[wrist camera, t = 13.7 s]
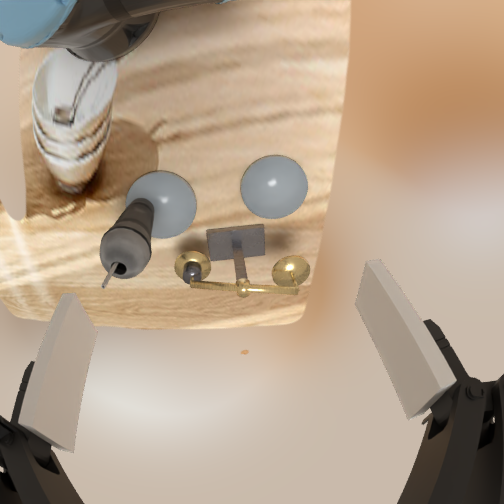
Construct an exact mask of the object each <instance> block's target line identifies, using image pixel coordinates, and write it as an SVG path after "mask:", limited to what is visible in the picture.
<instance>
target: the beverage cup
mask: <svg viewBox="0 0 504 504" xmlns="http://www.w3.org/2000/svg"><path fill="white" fill-rule="evenodd" d="M154 212H155V210H154V206H153V204H152V203H151V202H150V201H149V200H147V199H145V198H137V199H134V200H133V201H132V202H131V203H130V204H129V205H128V207H127V208H126V209H125V211H124V212H123V213H122V215H121V216H120V217H119V219H118V220H117V221H116V223H115V224H114V226H113V227H111V228H110V229H109V230H108V231H107V232H106V233H105V234H104V236H103V238H102V240H101V245H100V259H101V262H102V265H103V266H104V268H105V270H106V271H107V272H108V275H107V276H106V278H105V280H104V282H103V284H102V286H101V287H102V288H103V289H105V287H106V285H107V283H108V281H109V280H110V278H111V276H114V277H116V278H120V279H129V278H132V277H135V276H137V275H138V274H139V273H141V272H142V271H143V270H144V268H145V267H146V265H147V264H148V262H149V260H150V258H151V253H152V252H151V242H150V241H151V234H152V227H153V221H154Z"/></svg>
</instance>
